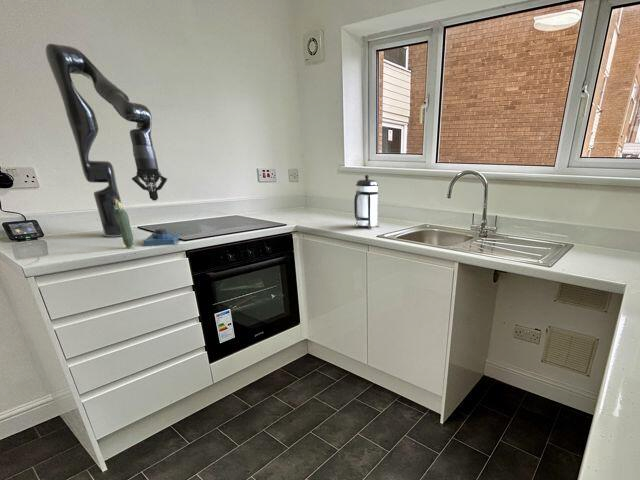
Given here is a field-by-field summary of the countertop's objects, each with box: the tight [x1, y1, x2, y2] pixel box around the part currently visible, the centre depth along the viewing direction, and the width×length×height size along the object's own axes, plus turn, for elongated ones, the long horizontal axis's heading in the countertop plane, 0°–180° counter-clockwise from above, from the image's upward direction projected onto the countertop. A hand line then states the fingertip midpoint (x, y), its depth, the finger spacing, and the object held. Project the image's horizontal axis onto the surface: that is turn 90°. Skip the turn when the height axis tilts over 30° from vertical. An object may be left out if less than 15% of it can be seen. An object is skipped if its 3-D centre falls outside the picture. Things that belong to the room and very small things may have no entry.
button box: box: [143, 231, 180, 247], centre depth 157 cm, size 14×11×4 cm
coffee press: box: [353, 174, 380, 230], centre depth 205 cm, size 17×16×30 cm
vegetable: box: [113, 199, 134, 249], centre depth 141 cm, size 4×4×20 cm
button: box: [154, 228, 167, 234], centre depth 156 cm, size 4×4×2 cm
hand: (154, 200), depth 151 cm, fingers closed
